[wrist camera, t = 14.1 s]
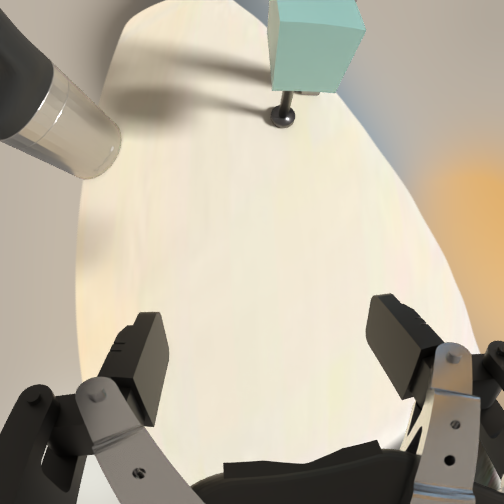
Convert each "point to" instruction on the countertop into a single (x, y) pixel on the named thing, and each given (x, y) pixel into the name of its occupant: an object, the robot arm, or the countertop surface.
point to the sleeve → (312, 43)
